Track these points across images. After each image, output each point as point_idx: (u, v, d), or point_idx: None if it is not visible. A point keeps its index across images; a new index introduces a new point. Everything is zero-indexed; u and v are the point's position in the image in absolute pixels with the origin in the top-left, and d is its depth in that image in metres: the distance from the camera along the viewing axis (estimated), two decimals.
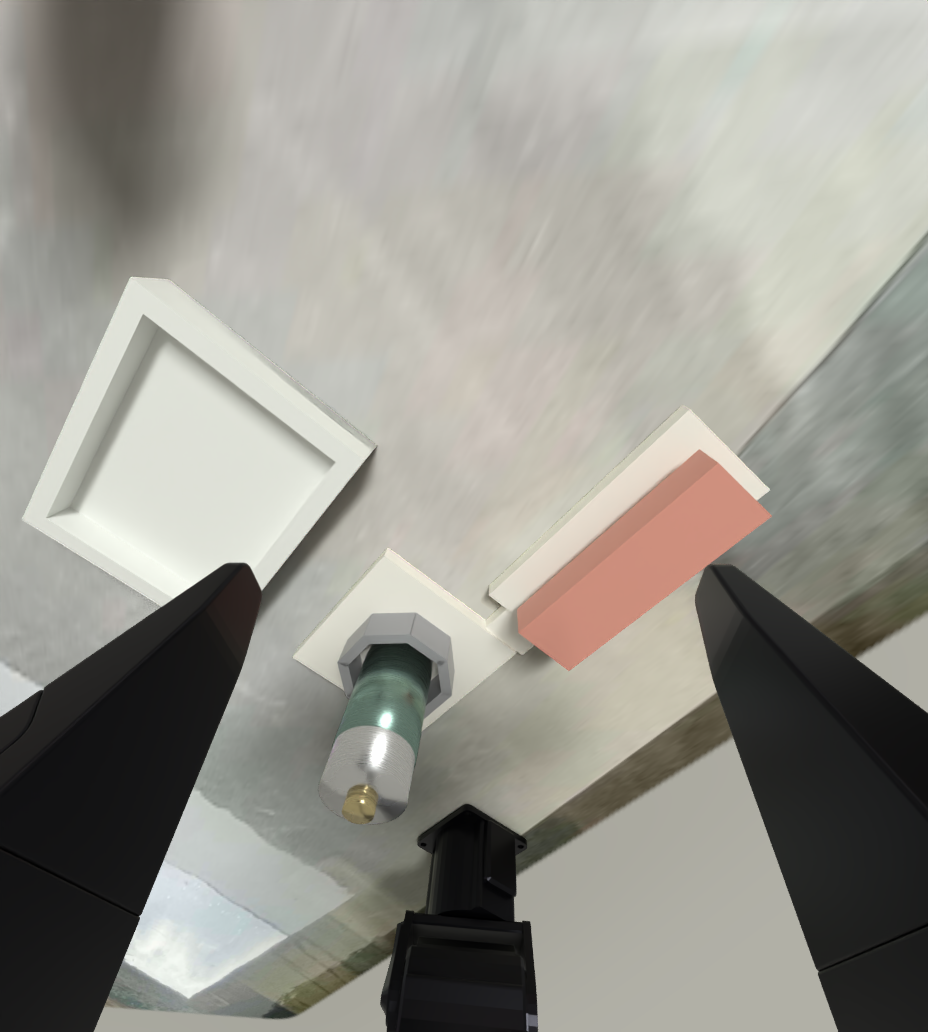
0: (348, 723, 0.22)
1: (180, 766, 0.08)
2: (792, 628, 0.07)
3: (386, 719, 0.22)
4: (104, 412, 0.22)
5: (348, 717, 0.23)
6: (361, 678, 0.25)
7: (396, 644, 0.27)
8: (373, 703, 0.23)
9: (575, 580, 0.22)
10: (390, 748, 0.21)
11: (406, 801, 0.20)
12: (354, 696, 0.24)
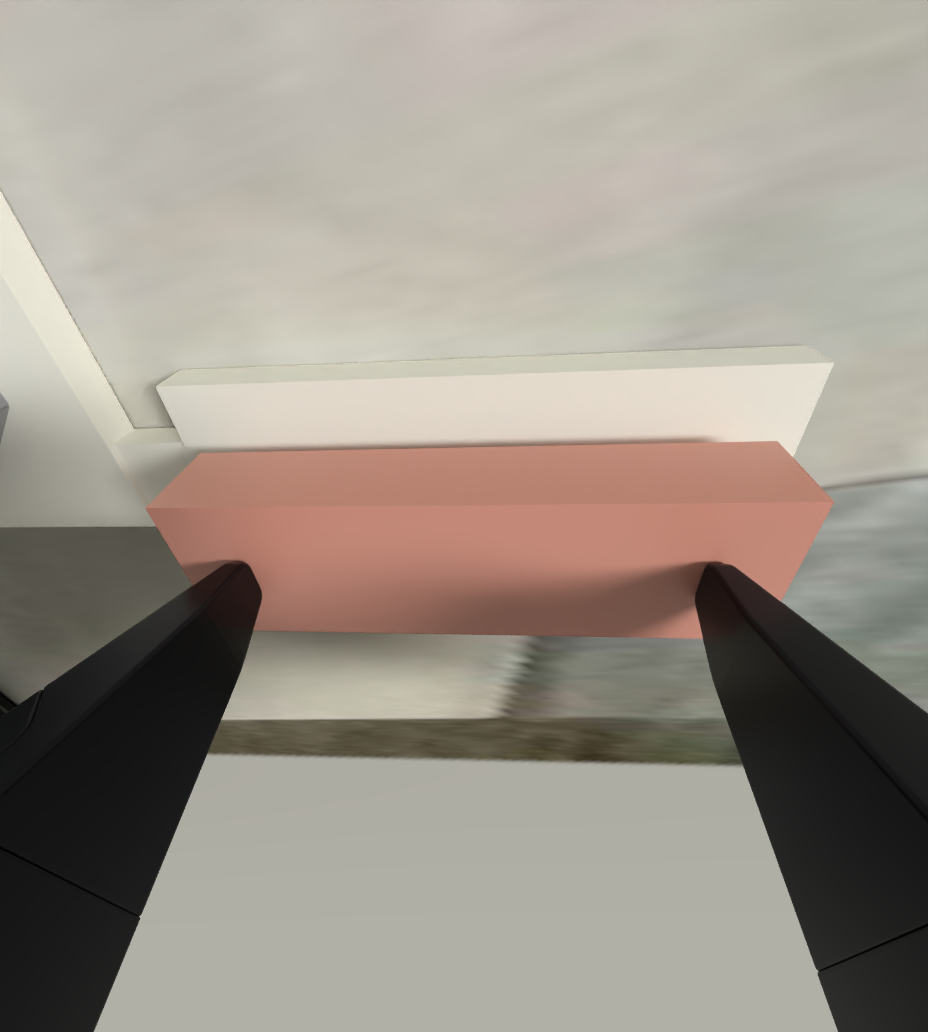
0: None
1: (180, 766, 0.08)
2: (792, 628, 0.07)
3: None
4: None
5: None
6: None
7: None
8: None
9: (359, 497, 0.08)
10: None
11: None
12: None
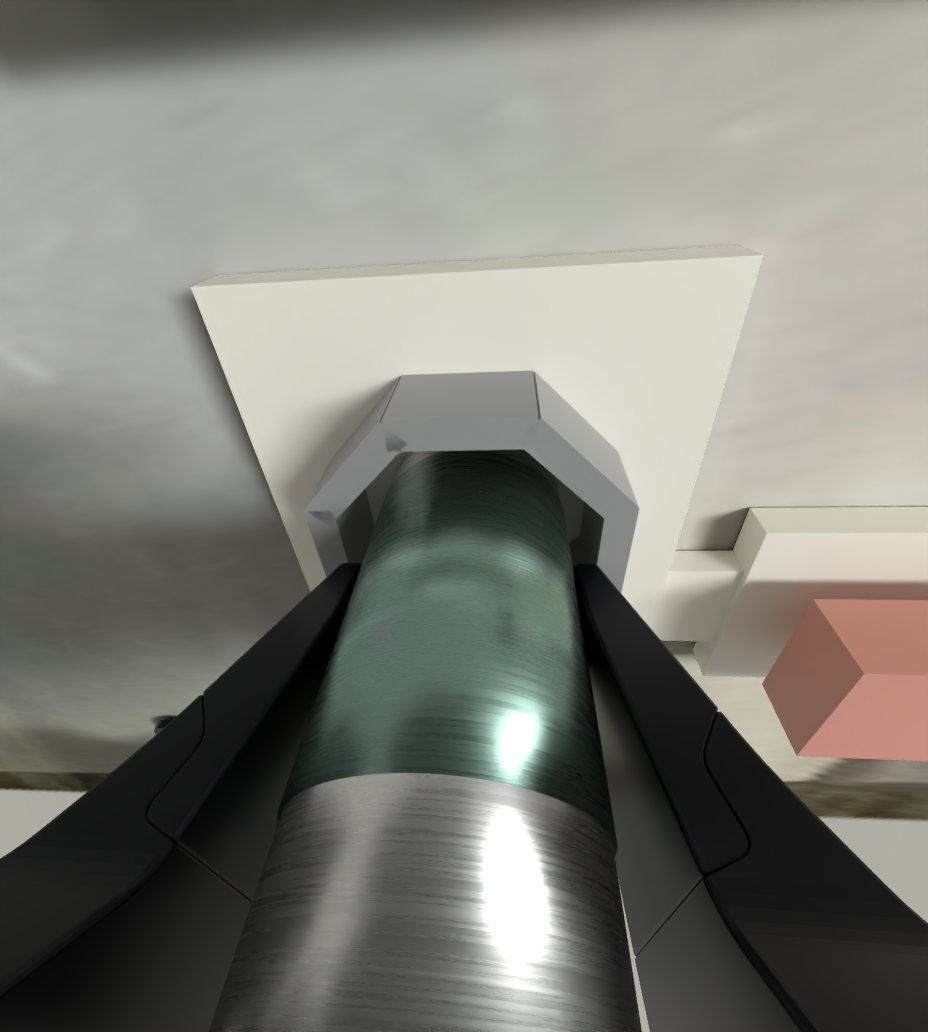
0: (474, 734, 0.05)
1: None
2: (625, 625, 0.07)
3: (605, 786, 0.05)
4: None
5: (459, 694, 0.05)
6: (473, 537, 0.07)
7: (549, 494, 0.09)
8: (563, 688, 0.06)
9: None
10: None
11: None
12: (463, 597, 0.06)
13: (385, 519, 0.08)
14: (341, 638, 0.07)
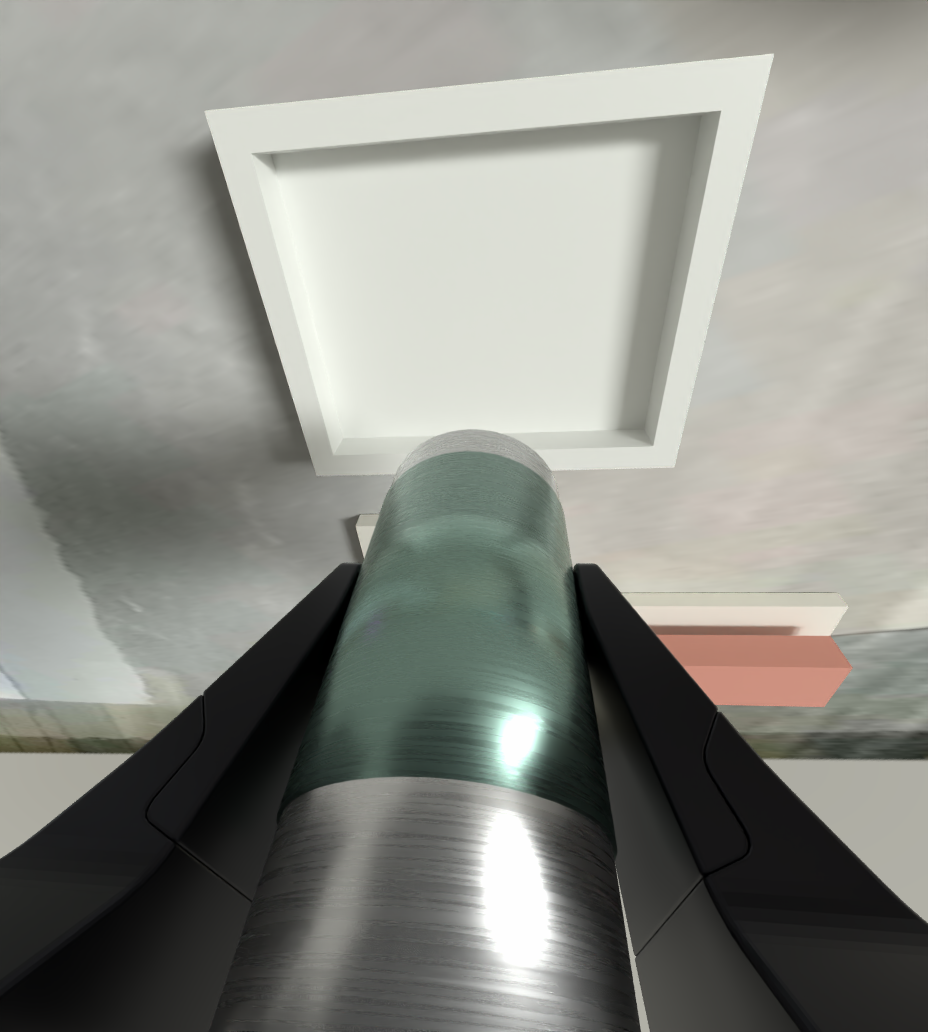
0: (473, 738, 0.05)
1: None
2: (625, 625, 0.07)
3: (605, 789, 0.05)
4: (502, 131, 0.13)
5: (458, 698, 0.05)
6: (472, 539, 0.07)
7: (549, 496, 0.09)
8: (563, 691, 0.06)
9: (687, 661, 0.24)
10: (628, 952, 0.05)
11: None
12: (463, 600, 0.06)
13: (385, 521, 0.08)
14: (341, 640, 0.07)
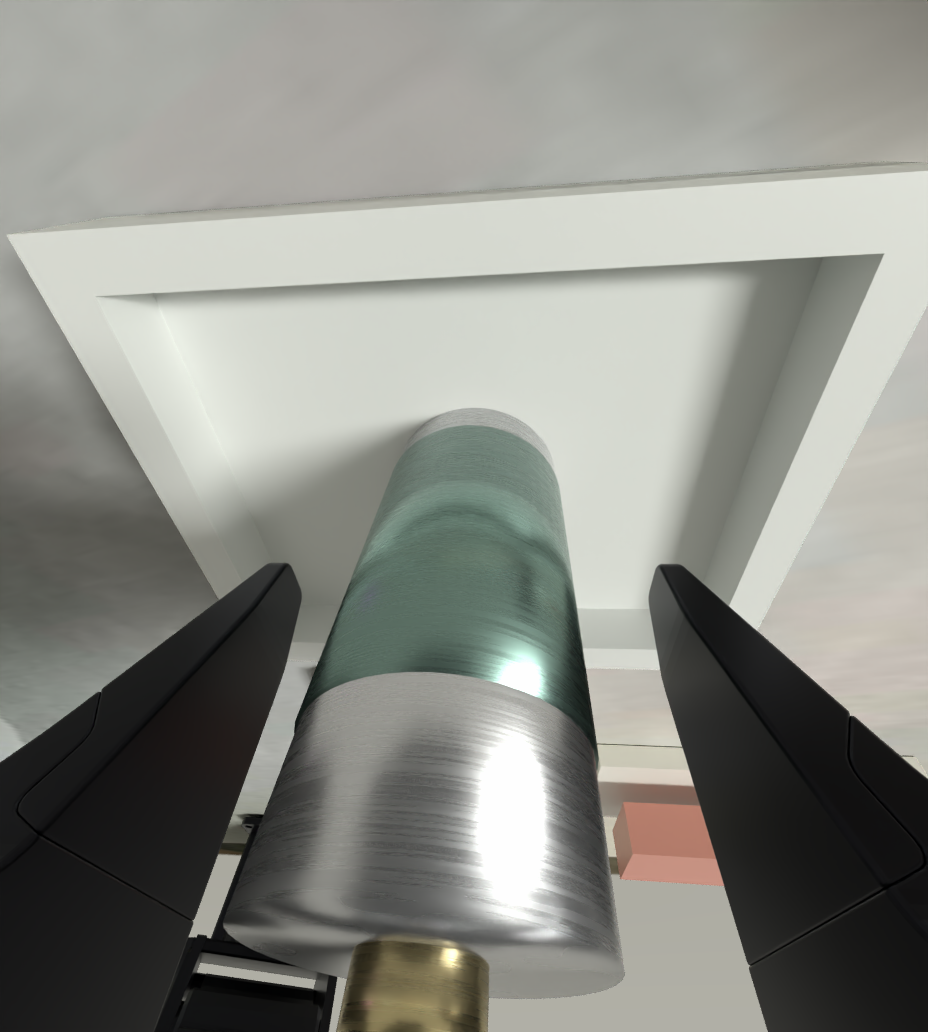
0: (470, 645, 0.05)
1: (230, 769, 0.08)
2: (729, 627, 0.07)
3: (588, 703, 0.06)
4: None
5: (457, 614, 0.06)
6: (472, 494, 0.08)
7: (545, 467, 0.10)
8: (551, 619, 0.06)
9: None
10: (605, 835, 0.05)
11: (524, 997, 0.06)
12: (463, 541, 0.07)
13: (393, 486, 0.09)
14: (352, 582, 0.07)
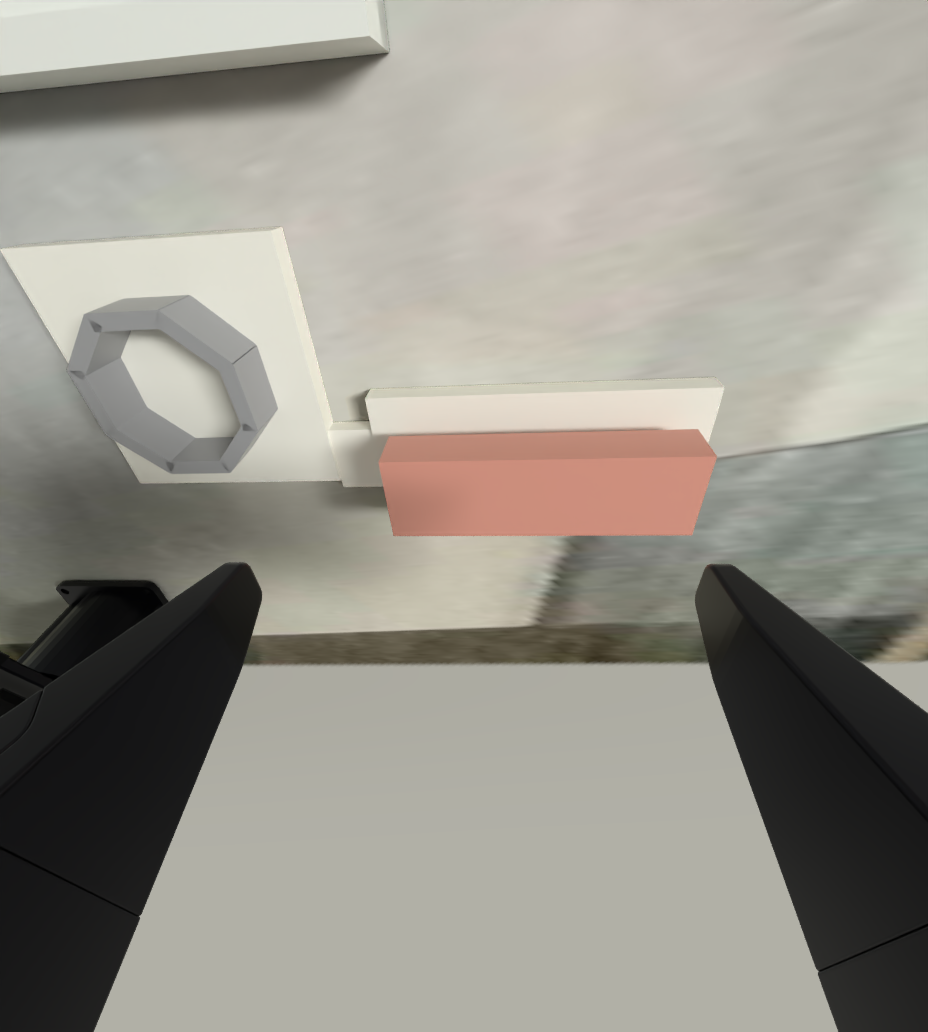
0: None
1: (180, 766, 0.08)
2: (792, 628, 0.07)
3: None
4: None
5: None
6: None
7: None
8: None
9: (487, 457, 0.17)
10: None
11: None
12: None
13: None
14: None
